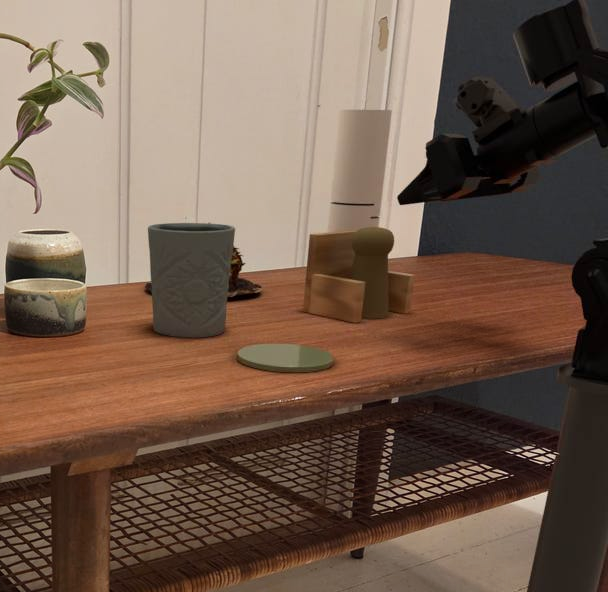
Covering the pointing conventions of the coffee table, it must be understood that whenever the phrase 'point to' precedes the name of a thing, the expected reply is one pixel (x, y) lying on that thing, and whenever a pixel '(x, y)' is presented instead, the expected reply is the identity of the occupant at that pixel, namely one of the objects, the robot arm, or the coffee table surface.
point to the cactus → (234, 278)
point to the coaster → (285, 358)
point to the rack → (345, 280)
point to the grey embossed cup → (190, 277)
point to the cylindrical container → (359, 169)
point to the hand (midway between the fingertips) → (419, 199)
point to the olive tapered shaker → (372, 268)
